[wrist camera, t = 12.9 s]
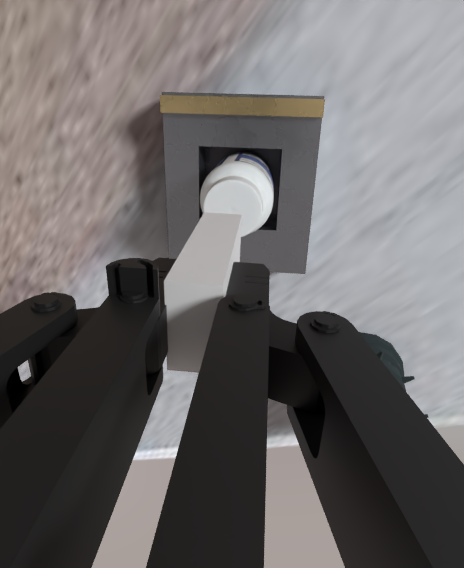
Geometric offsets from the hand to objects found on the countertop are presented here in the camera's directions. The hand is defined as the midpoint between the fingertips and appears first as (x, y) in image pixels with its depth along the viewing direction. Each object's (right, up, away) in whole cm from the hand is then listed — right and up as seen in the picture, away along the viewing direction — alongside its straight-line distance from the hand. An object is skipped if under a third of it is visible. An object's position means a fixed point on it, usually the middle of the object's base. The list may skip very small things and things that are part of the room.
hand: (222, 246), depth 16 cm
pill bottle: (+1, +7, +19) cm, 21 cm away
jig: (+1, +8, +20) cm, 21 cm away
